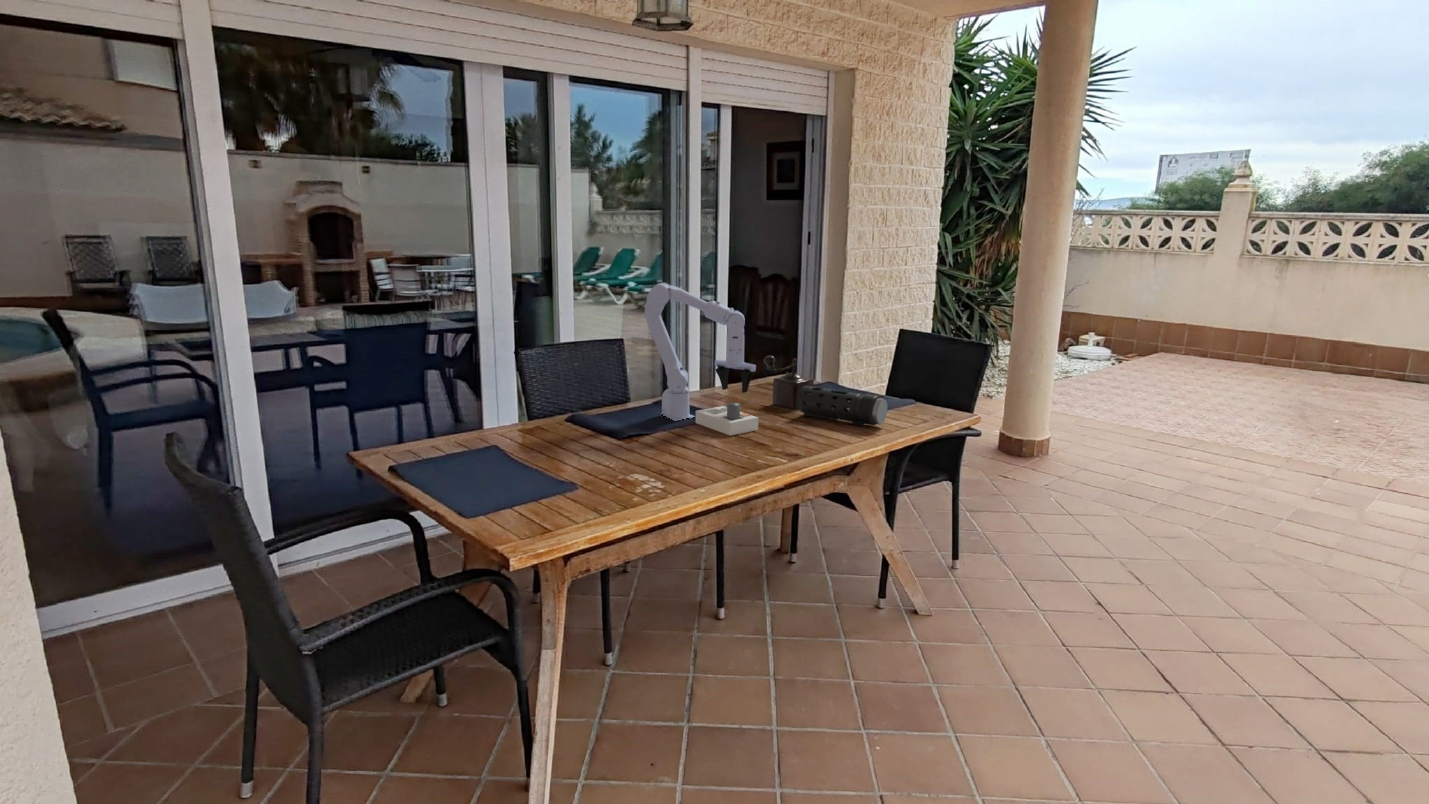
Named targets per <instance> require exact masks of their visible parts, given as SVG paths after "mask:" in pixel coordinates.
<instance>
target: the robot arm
mask: <svg viewBox="0 0 1429 804" xmlns="http://www.w3.org/2000/svg"><path fill="white" fill-rule="evenodd" d="M669 301H670V303H679V302H680V303H683V304H686V305H688V306H690V307H692V308H694V309H697V310H699V311H701V312H702V313H704V316H705V318H707V319H709V320H712V321H714V322H716V323H717V324H719V325H722V326H724V325H725V327H727V329H726V330H727V333H726V351H725V352H726V353H725V355H726V360H724V359H723V360H721V359H717V360H714V367H716V368H715V372H716V375H717V376H718V378H719V380H720V385H721V388H722V391H724V390H727V389H729V374H730V371H731V370H730V369H732V370H733V369H734V370H742V371H740V372H739V373H740V377H741V378H740V379H741V393H743V394H744V393H747V392H748V389H749V386H750V382H751V380H752V378H753V376H754V374H755V372H756V371H757V365H756V364H753V363H749V362H745V328H744V327H745V324H746V322H745V321H746V319H745V316H744V314H743V313H742V312H740V311H739V310H735V309H734V308H733V307H728V306H726V305H723V304H721V301H720V300H718V299H717V300H716V301H715V300H710V301H706V300H703V299H702V298H700V297H698V296H696V295H694V294H692V293H691V292H688V291H687V290H685V289H682V288H680V287H678V286H676V285H673V284H671V285H670V284H669V283H667V282H659V283H657V284H656V285H654V286H653V287H652V288H650V291H649V292H648V294H647V296H646V302H645V303H646V304H645V308H644V313H643V314H644V318H645V321H646V323H647V325H648V328H649V331H650V333H651V335H652V338H653V340H654V343H655V345H656V346H655V347H657V350H658V353H659V355H660V358H661V361H662V363H663V366H664V369H665V370H664V371H665V375H666V378H667V382H666V385H667V387H668V388H667V389H666V390H664V391H663V393H662V395H661V414H664V415H663V416H666V417H667V419H668V418H670V419H669V420H671V419H672V420H671V421H674V422H679V421H683V420H682V419H684V420H687V419H686V418H689V419H693V417H695V418H696V415H693V414H690V388H689V387H688V383H689V381H690V375H689V372H688V371H687V370H686V369H685V368H684V366H683V364H682V363H681V361H680V360H679V358H678V355H677V353H676V351H675V348H674V345H673V343H672V340H671V337H670V335H669V332H668V331H667V328H666V325H665V322H664V320H663V318H662V316H661V315H662V313H663V310H664V309H665V306H666V304H667V303H668V302H669ZM663 416H662V417H663ZM666 417H665V418H666ZM678 420H679V421H678Z"/></svg>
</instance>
